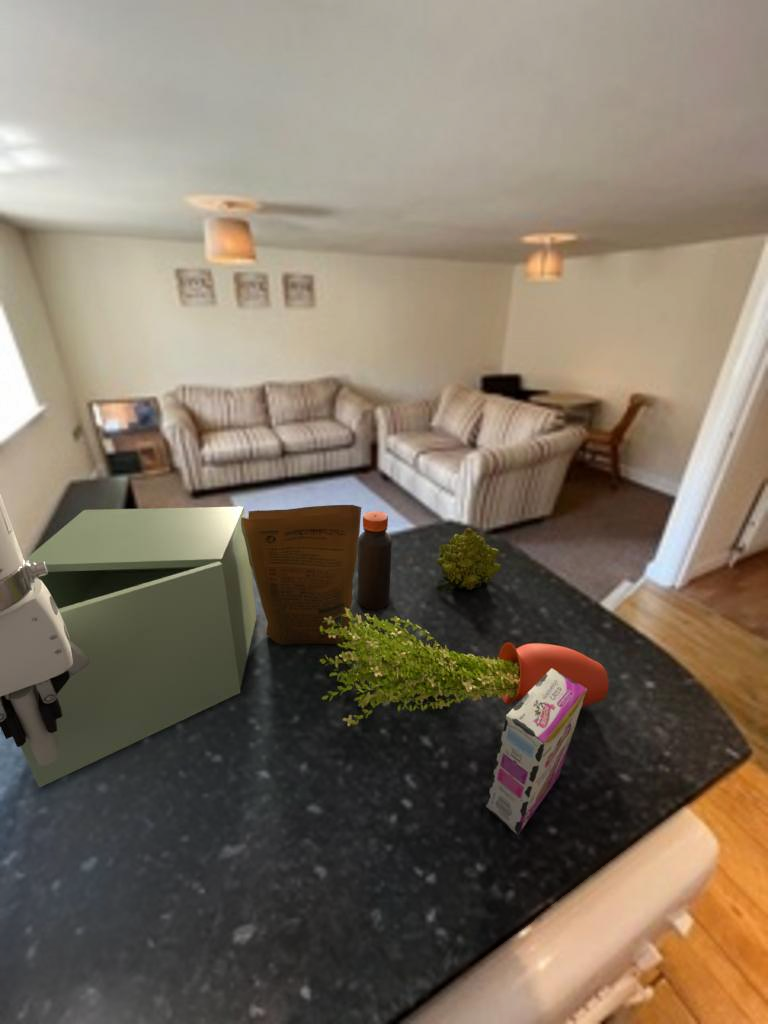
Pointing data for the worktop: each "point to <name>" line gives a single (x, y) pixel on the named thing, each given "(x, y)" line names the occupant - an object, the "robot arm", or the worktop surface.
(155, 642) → the door
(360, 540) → the bottle
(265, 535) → the pancake mix bag
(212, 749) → the worktop surface
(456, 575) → the vegetable
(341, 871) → the worktop surface
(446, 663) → the potted plant
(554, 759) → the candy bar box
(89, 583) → the cabinet
